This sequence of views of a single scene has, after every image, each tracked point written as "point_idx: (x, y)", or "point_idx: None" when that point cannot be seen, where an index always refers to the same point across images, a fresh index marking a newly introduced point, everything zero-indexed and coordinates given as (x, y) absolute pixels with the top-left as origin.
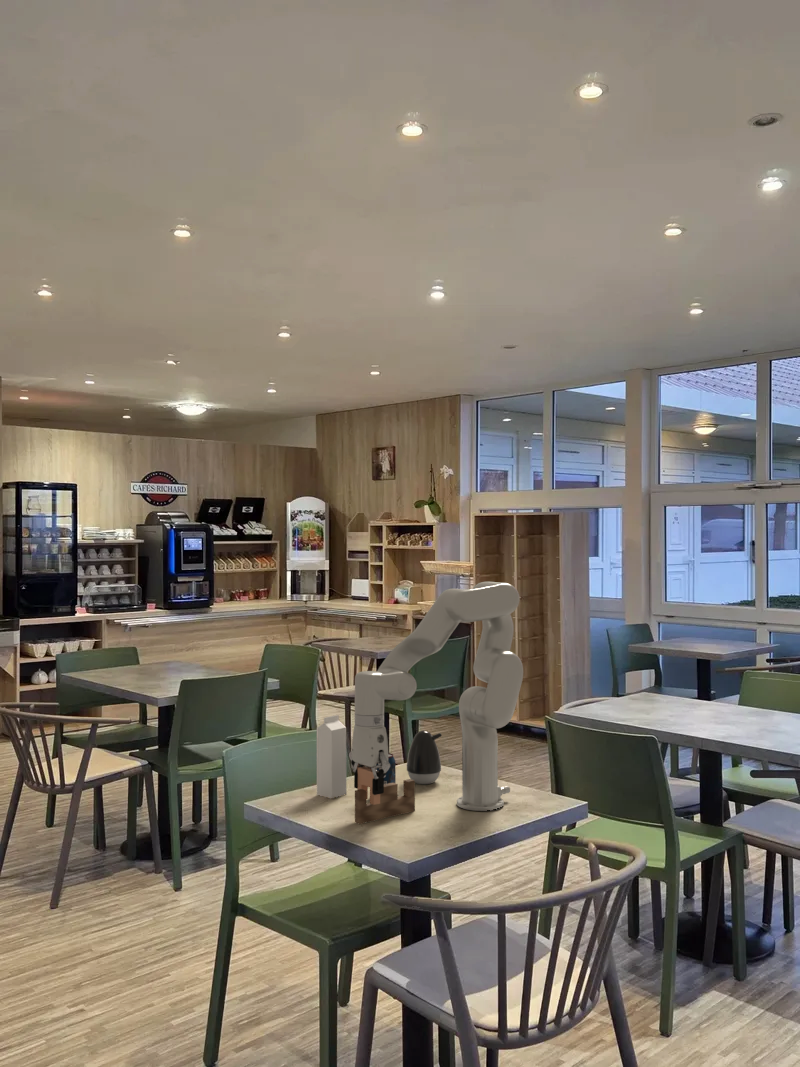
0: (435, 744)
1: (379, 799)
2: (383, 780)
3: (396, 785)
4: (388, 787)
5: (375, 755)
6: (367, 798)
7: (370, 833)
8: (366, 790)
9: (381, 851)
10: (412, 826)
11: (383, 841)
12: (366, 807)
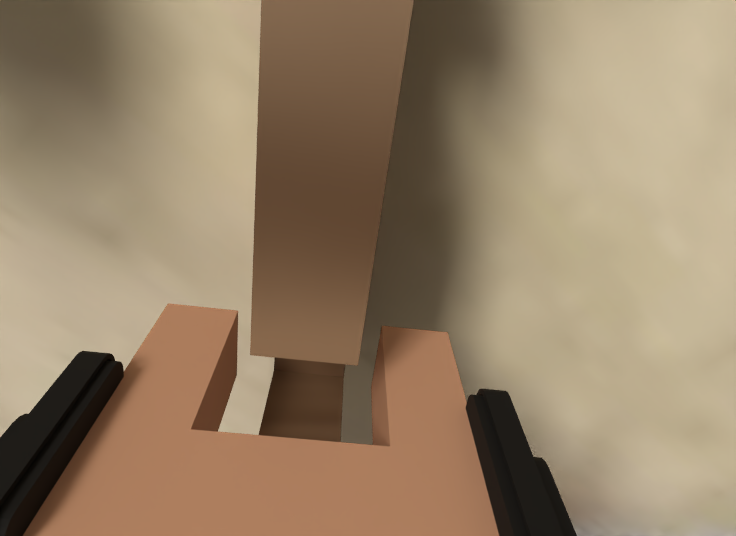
0: None
1: (451, 363)
2: (557, 527)
3: (412, 5)
4: (382, 182)
5: None
6: (236, 314)
7: (519, 416)
8: (216, 382)
9: (732, 531)
10: (685, 148)
11: (665, 452)
12: (343, 372)
